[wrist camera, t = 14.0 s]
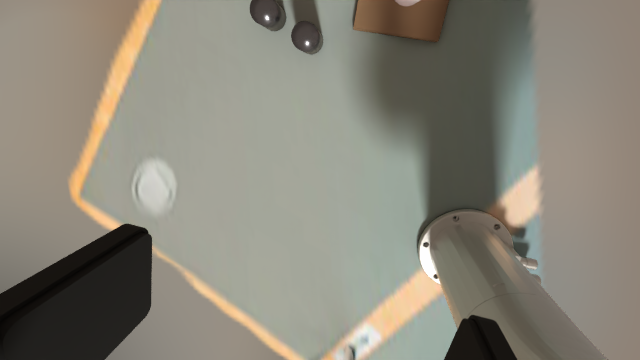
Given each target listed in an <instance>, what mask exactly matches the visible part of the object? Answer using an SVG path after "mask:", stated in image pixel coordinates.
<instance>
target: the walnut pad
mask: <svg viewBox="0 0 640 360" xmlns="http://www.w3.org/2000/svg"><path fill="white" fill-rule="evenodd" d="M448 3H449V0H420V1H419V2H417V3H415V4H414V5H411V6H401V5H399V4H398V3H397V2H396V1H395V0H358V4H357V10H356V16H355V22H354V28H353V29H354V30H358V31H365V32H372V33H378V34H385V35H391V36H398V37H405V38H411V39H418V40H425V41H431V42H438V41H439V37H440V33H441V29H442V26H443V22H444V18H445V14H446V10H447V6H448Z"/></svg>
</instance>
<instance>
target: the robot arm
mask: <svg viewBox="0 0 640 360" xmlns="http://www.w3.org/2000/svg"><path fill="white" fill-rule="evenodd" d="M454 216H455V217H454ZM453 217H454V218H453ZM495 224H496V225H495ZM424 242H426V243H424ZM513 246H514V245H513V241H512V237H511V235H510V233H509V231H508V230H507V228H506V227H505V226H504V225H503V224H502V223H501V222H500V221H499V220H498V219H497V218H495V217H494V216H492V215H490V214H488V213H485V212H483V211H479V210H473V209H462V210H455V211H451V212H448V213H445V214H443V215H441V216H439V217H438V218H436V219H435V220H434V221H432V222H431V223H430V224H429V225H428V226H427V227H426V228H425V230H424V232H423V233H422V235H421V237H420V240H419V244H418V257H419V260H420V263H421V266H422V268H423V270H424V271H425V273H426V274H427V275H428V276H429V277H430V278H431V279H432V280H433V281H435V282H437V283H438V284H440V285H441V288H442V290H443V293H444V295H445V298H446V301H447V303H448V306H449V308H450V311H451V314H452V316H453V319H454V321H455V324H456V327H457V329H458V330H457V332H456V334H455V336H454V339H453V341H452V343H451V345H450V348H449V350H448V352H447V354H446V357H445V359H444V360H608V359H607V358H606V357H605V356H604V355H603V354H602V353H601V352H600V350H599V349H598V348H597V347H596V346H595V345H594V344H593V343H592V342H591V341H590V340H589V339H588V338H587V337H586V336H585V335H584V334H583V332H582V331H580V329H579V328H578V327H577V326H576V325H575V324H574V323H573V322H572V320H571V319H570V318H569V317H568V316H567V315H566V314H565V312H564V311H563V310H562V309H561V308H560V307H559V306H558V304H557V303H556V302H555V301H554V300H553V299H552V298H551V297H550V295H549V294H548V293H547V292H546V291H545V290H544V288H543V287H542V286H541V279H540V277H539V276H538V275H536V274H531V273H530V272H529V271H528V270H527V269H526V268H528V269H533V270H534V269H536V268H537V266H538V263H537V260H535V259H531V258H527V257H520V256H519V255H518V253H517V252H516V251H515V250H514V249H513ZM151 269H152V237H151V235H149V234H148V231H147V229H145V228H143V227H139V226H135V225H131V224H124V225H121V226H120V227H118V228H116V229H114V230H113V231H111V232H109V233H107V234H106V235H104V236H102V237H100V238H98V239H97V240H95V241H93V242H91V243H90V244H88V245H86V246H84V247H82V248H81V249H79V250H77V251H75V252H74V253H72V254H70V255H68V256H67V257H65V258H63V259H61V260H59V261H58V262H56V263H54V264H52V265H51V266H49V267H47V268H45V269H43V270H42V271H40V272H38V273H36V274H35V275H33V276H32V277H30V278H28V279H26V280H24V281H22V282H21V283H19V284H17V285H15V286H13V287H12V288H10V289H8V290H6V291H4V292H3V293H1V294H0V360H105V359H106V358H107V357H108V355H109V354H110V353H111V352H112V351H113V350H114V349H115V348H116V347H117V346H118V345H119V344H120V343H121V342H122V341H123V340H124V339H125V338H126V337H127V336H128V335H129V334H130V333H131V332H132V331H133V329H134V328H135V327H136V326H137V325H138V324H139V323H140V322H141V321H142V320H143V319H144V318H145V317H146V316H147V314H148V312H149V310H150V307H151V271H152V270H151Z"/></svg>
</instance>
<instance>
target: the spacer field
mask: <svg viewBox="0 0 640 360" xmlns="http://www.w3.org/2000/svg"><path fill="white" fill-rule="evenodd" d="M250 14H251V16H252V18H253V19H254V21H255V22H257V23H259V24H260V25H262V26H264V27H266V28H267V29H269V30H271V31H278V30H280V29H282V28H283V26H284V25H285V22H286V14H285V11H284V9H283V8H282V7H281V6H280V5H279V4H278V3H277V2H275V1H274V0H252V1H251V4H250ZM291 38H292V42H293V44H294V45H295V47H296V48H298V49H299V50H301V51H303V52H305V53H307V54H315V53H317V52H318V51H319V50H320V49H321V48H322V45H323V37H322V35H321V33H320V32H319V31H318V29H317V28H316V27H315V26H314V25H313V24H312V23H310V22H308V21H301V22H299V23H297V24H296V25H295V26H294V28H293V30H292V34H291Z"/></svg>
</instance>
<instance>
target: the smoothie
mask: <svg viewBox="0 0 640 360" xmlns="http://www.w3.org/2000/svg"><path fill="white" fill-rule="evenodd" d="M395 1H396V2H397V3H398V4H399V5H401V6H411V5H414V4H415V3H417V2H419V1H420V0H395Z"/></svg>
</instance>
